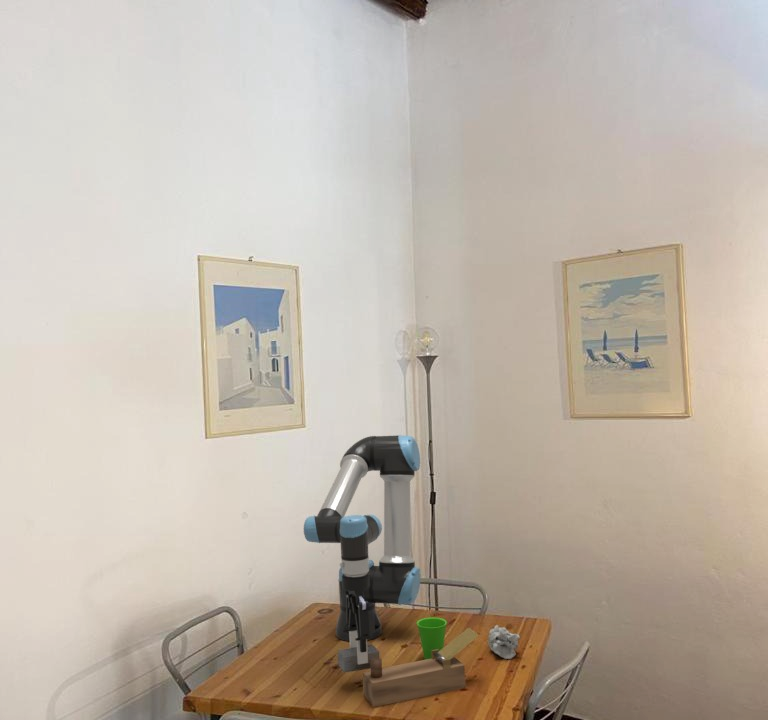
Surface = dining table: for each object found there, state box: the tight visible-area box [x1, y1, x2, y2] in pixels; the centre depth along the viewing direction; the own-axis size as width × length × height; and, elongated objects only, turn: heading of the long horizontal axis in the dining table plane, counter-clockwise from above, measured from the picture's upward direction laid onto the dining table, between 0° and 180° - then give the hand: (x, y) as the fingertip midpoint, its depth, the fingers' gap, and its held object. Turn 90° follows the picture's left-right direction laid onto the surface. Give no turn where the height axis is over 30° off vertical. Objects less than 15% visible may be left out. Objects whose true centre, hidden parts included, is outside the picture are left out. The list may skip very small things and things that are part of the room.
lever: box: [434, 627, 479, 663], centre depth 194 cm, size 6×1×12 cm
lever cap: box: [337, 644, 381, 674], centre depth 195 cm, size 6×10×5 cm, turn 110°
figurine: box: [487, 624, 521, 660], centre depth 213 cm, size 8×10×12 cm
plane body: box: [362, 649, 466, 708], centre depth 190 cm, size 8×26×10 cm, turn 110°
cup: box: [415, 616, 448, 660], centre depth 210 cm, size 9×9×11 cm
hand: (358, 658), depth 195 cm, fingers closed on lever cap, 6 cm apart
